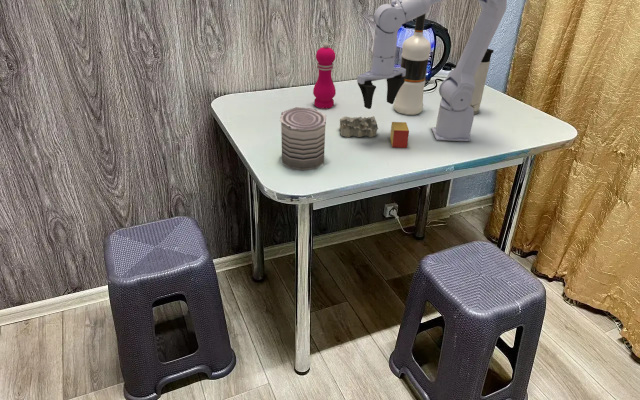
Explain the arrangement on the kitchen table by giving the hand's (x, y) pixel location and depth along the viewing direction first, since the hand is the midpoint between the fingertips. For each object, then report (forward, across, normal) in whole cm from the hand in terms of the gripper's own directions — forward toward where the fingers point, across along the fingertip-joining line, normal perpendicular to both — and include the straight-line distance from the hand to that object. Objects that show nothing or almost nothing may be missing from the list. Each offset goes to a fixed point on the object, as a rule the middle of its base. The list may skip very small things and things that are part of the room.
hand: (378, 105), depth 128 cm
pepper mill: (+10, 0, -28) cm, 29 cm away
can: (+10, +25, +2) cm, 27 cm away
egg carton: (+10, +2, -5) cm, 12 cm away
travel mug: (+10, -39, -2) cm, 40 cm away
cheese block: (+10, -4, +6) cm, 12 cm away
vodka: (+10, -21, -12) cm, 26 cm away
